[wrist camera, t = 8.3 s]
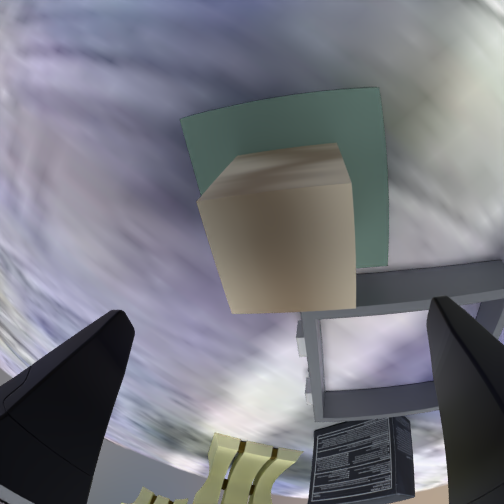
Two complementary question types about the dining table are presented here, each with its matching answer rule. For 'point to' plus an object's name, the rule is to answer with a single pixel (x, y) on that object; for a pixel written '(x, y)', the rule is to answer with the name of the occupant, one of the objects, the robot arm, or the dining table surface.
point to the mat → (304, 134)
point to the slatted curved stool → (235, 473)
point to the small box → (363, 463)
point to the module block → (283, 231)
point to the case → (389, 302)
